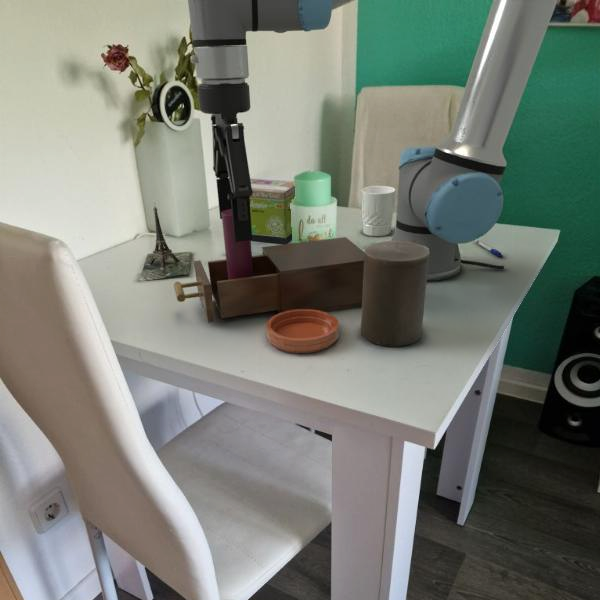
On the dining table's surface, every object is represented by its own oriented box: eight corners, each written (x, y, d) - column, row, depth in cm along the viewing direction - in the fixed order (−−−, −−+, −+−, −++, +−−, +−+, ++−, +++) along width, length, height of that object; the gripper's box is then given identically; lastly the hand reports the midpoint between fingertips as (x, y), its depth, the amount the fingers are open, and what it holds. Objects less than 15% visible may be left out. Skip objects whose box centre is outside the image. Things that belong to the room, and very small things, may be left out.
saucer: (325, 318, 95) (325, 304, 94) (348, 348, 86) (348, 333, 85) (260, 328, 93) (259, 314, 92) (277, 359, 84) (276, 345, 82)
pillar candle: (380, 352, 85) (386, 256, 76) (350, 327, 92) (352, 237, 84) (434, 339, 88) (445, 245, 80) (400, 315, 95) (407, 228, 87)
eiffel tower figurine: (189, 277, 114) (180, 210, 106) (139, 280, 113) (126, 213, 105) (191, 253, 126) (183, 192, 119) (146, 256, 125) (134, 195, 118)
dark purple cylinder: (252, 291, 101) (245, 207, 93) (257, 300, 98) (250, 213, 90) (228, 294, 100) (219, 209, 92) (232, 304, 97) (223, 216, 89)
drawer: (182, 326, 92) (176, 288, 89) (175, 299, 102) (169, 264, 98) (296, 310, 97) (295, 273, 93) (278, 285, 106) (277, 250, 103)
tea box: (224, 255, 124) (217, 186, 116) (243, 242, 132) (238, 176, 124) (287, 261, 120) (284, 190, 112) (303, 247, 128) (301, 179, 119)
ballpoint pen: (503, 257, 118) (504, 253, 117) (499, 258, 118) (500, 253, 117) (478, 243, 126) (479, 238, 126) (474, 243, 126) (475, 239, 126)
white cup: (395, 236, 132) (397, 193, 127) (361, 237, 132) (363, 194, 127) (390, 227, 139) (393, 185, 133) (359, 228, 139) (360, 186, 133)
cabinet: (282, 318, 96) (280, 271, 91) (264, 290, 107) (261, 247, 102) (371, 305, 100) (373, 259, 95) (345, 279, 110) (345, 236, 106)
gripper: (186, 77, 90) (202, 211, 102) (210, 88, 70) (225, 254, 81) (232, 76, 92) (242, 208, 103) (268, 86, 71) (275, 248, 83)
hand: (235, 228), depth 92 cm, fingers open, 13 cm apart
